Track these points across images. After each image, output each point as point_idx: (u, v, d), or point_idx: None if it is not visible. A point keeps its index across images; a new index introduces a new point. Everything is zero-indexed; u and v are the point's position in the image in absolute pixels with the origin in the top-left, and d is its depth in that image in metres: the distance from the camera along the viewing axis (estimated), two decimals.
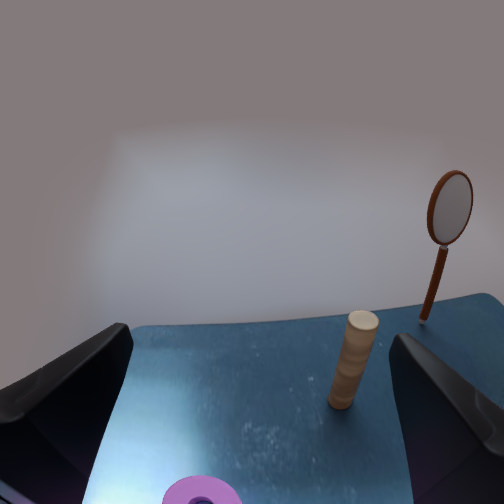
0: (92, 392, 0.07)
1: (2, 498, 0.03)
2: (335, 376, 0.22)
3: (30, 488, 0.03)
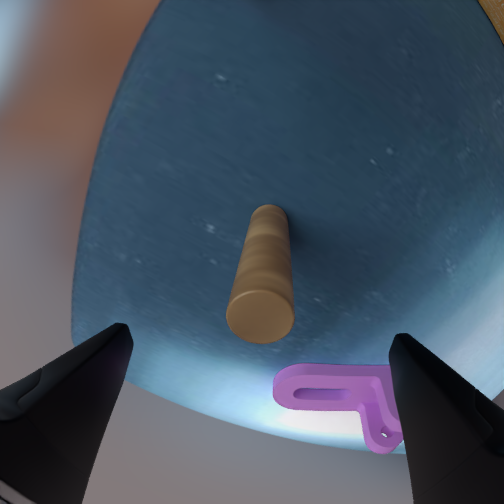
0: (92, 392, 0.07)
1: (2, 498, 0.03)
2: None
3: (30, 488, 0.03)
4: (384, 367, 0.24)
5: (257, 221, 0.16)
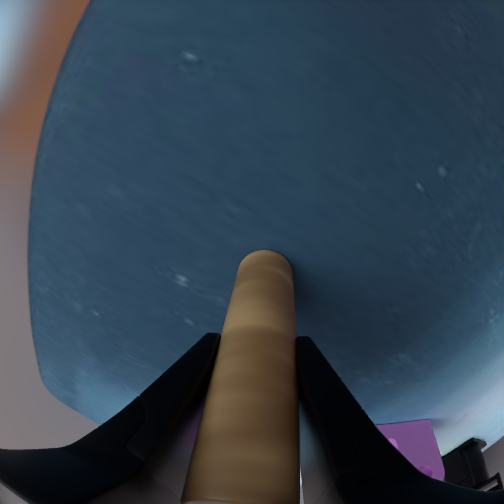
0: (198, 414, 0.06)
1: None
2: None
3: None
4: (401, 425, 0.18)
5: (244, 289, 0.10)
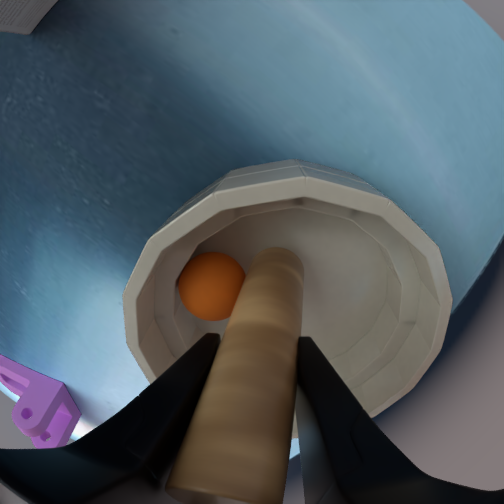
0: None
1: None
2: None
3: None
4: (41, 376, 0.21)
5: (252, 284, 0.10)
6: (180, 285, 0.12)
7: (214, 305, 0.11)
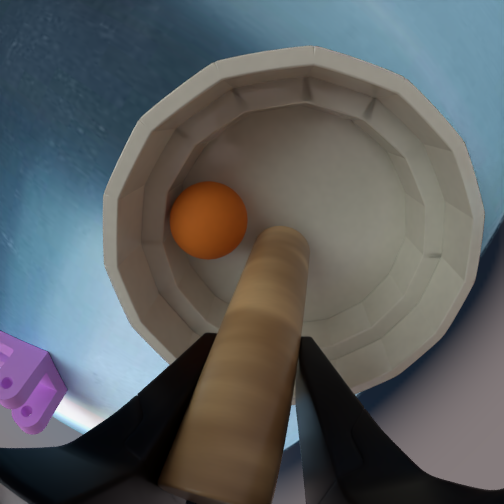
0: None
1: None
2: None
3: None
4: (26, 345, 0.20)
5: (267, 265, 0.09)
6: (176, 209, 0.10)
7: (211, 242, 0.10)
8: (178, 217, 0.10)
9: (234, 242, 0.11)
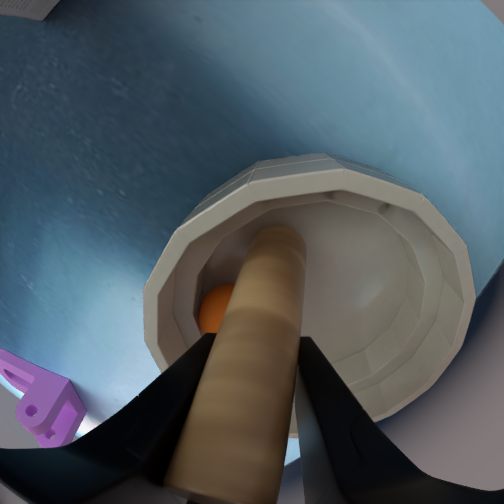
0: None
1: None
2: None
3: None
4: (46, 372, 0.21)
5: (265, 264, 0.09)
6: (204, 332, 0.12)
7: None
8: None
9: None
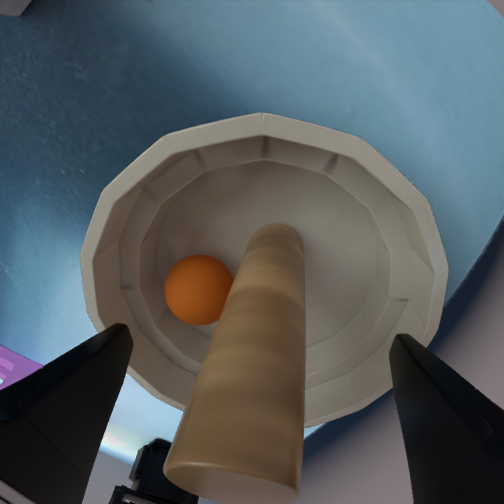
0: (92, 392, 0.07)
1: (2, 498, 0.03)
2: None
3: (30, 488, 0.03)
4: (25, 360, 0.21)
5: (267, 253, 0.10)
6: (182, 311, 0.11)
7: None
8: (188, 317, 0.11)
9: None
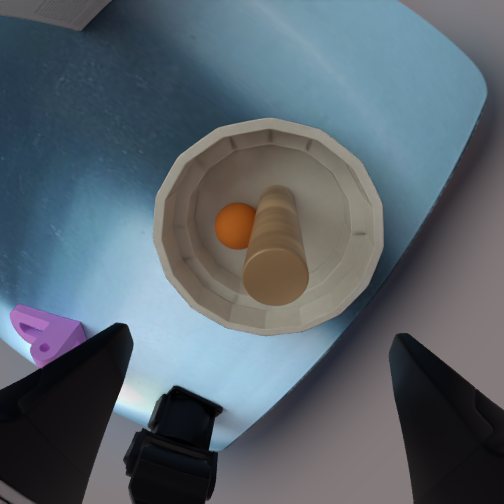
0: (92, 392, 0.07)
1: (2, 498, 0.03)
2: None
3: (30, 488, 0.03)
4: (60, 318, 0.27)
5: (275, 196, 0.16)
6: (240, 234, 0.17)
7: None
8: (243, 238, 0.18)
9: None
